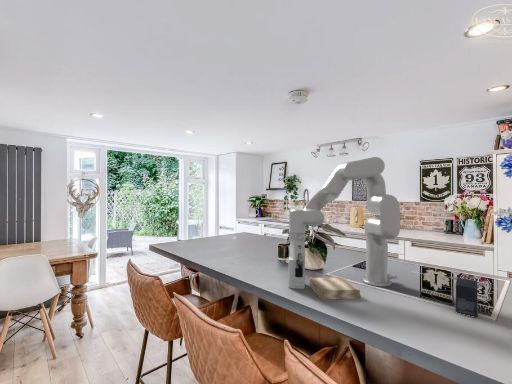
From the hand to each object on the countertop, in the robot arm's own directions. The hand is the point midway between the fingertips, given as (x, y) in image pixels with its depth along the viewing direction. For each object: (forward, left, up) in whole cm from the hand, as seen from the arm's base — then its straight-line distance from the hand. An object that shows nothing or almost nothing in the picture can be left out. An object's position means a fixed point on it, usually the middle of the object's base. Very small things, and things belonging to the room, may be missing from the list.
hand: (295, 273), depth 121 cm
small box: (-56, +30, -6) cm, 64 cm away
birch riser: (-14, +8, -6) cm, 17 cm away
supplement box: (0, 0, -6) cm, 6 cm away
